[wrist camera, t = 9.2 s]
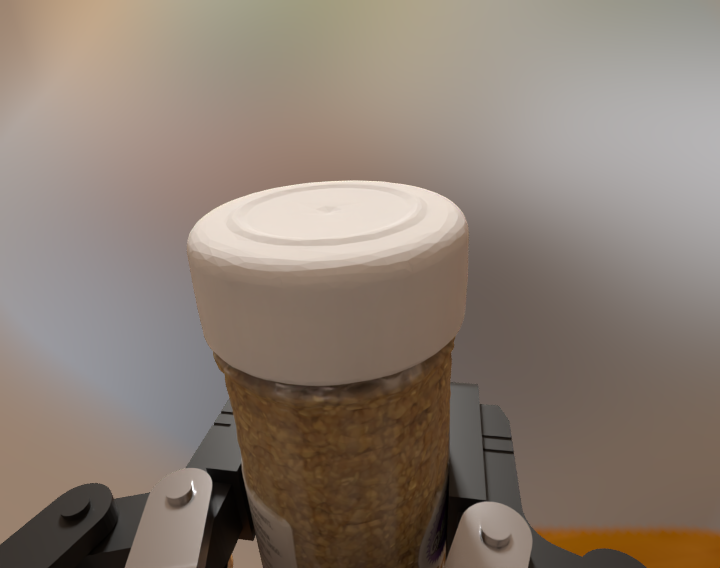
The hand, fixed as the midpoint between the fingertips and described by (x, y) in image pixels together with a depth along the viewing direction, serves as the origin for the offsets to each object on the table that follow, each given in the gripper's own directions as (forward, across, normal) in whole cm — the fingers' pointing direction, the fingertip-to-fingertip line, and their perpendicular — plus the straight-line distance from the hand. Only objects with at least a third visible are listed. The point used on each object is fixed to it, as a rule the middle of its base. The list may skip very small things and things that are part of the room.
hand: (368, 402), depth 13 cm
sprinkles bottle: (-3, 0, +7) cm, 8 cm away
